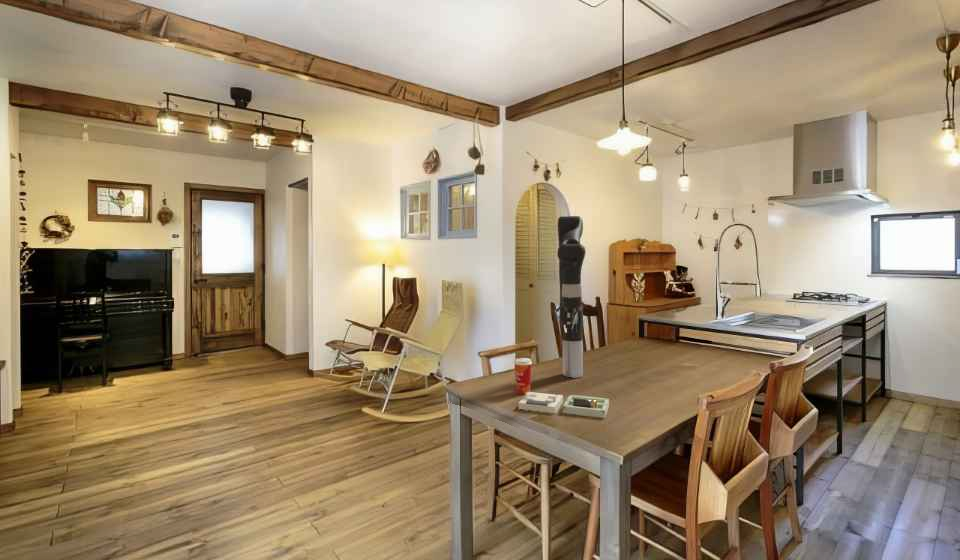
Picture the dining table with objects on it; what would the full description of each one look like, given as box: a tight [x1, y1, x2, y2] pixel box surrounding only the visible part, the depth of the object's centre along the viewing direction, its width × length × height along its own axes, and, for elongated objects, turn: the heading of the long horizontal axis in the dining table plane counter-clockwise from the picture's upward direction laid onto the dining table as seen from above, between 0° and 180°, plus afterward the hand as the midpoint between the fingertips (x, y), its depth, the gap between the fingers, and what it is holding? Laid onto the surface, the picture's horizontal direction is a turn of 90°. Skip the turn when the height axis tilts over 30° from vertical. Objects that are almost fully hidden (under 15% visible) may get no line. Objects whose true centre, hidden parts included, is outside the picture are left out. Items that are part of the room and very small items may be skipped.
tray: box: [562, 394, 610, 419], centre depth 170 cm, size 14×15×3 cm
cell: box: [573, 398, 598, 409], centre depth 167 cm, size 3×9×3 cm, turn 69°
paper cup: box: [513, 357, 533, 395], centre depth 191 cm, size 8×8×14 cm
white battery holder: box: [518, 391, 564, 414], centre depth 175 cm, size 14×14×4 cm
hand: (571, 336), depth 179 cm, fingers open, 8 cm apart
